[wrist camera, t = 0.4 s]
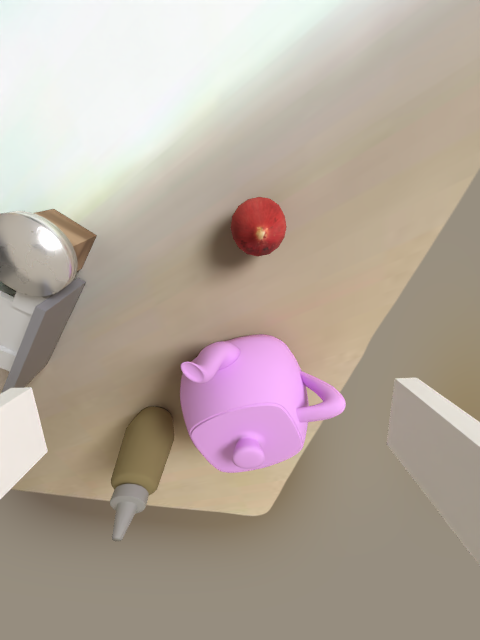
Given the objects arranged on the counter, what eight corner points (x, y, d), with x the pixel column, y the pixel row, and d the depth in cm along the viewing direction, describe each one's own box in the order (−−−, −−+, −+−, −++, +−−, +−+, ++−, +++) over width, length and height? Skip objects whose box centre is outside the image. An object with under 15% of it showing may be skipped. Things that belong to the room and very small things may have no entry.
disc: (2, 192, 23) (-13, 193, 22) (89, 244, 26) (81, 248, 24) (-17, 262, 27) (-31, 267, 25) (63, 303, 29) (54, 310, 28)
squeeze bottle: (180, 431, 49) (155, 552, 33) (137, 431, 49) (91, 553, 33) (176, 400, 45) (145, 522, 29) (129, 400, 45) (72, 523, 29)
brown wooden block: (53, 208, 30) (15, 216, 24) (96, 235, 31) (69, 248, 26) (41, 244, 32) (2, 259, 26) (81, 268, 33) (53, 286, 28)
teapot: (331, 382, 44) (372, 472, 31) (218, 418, 48) (212, 511, 35) (288, 260, 33) (323, 318, 20) (148, 319, 37) (101, 400, 24)
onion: (283, 240, 32) (296, 260, 25) (237, 251, 32) (238, 272, 26) (276, 189, 29) (289, 194, 22) (226, 201, 30) (223, 210, 23)
